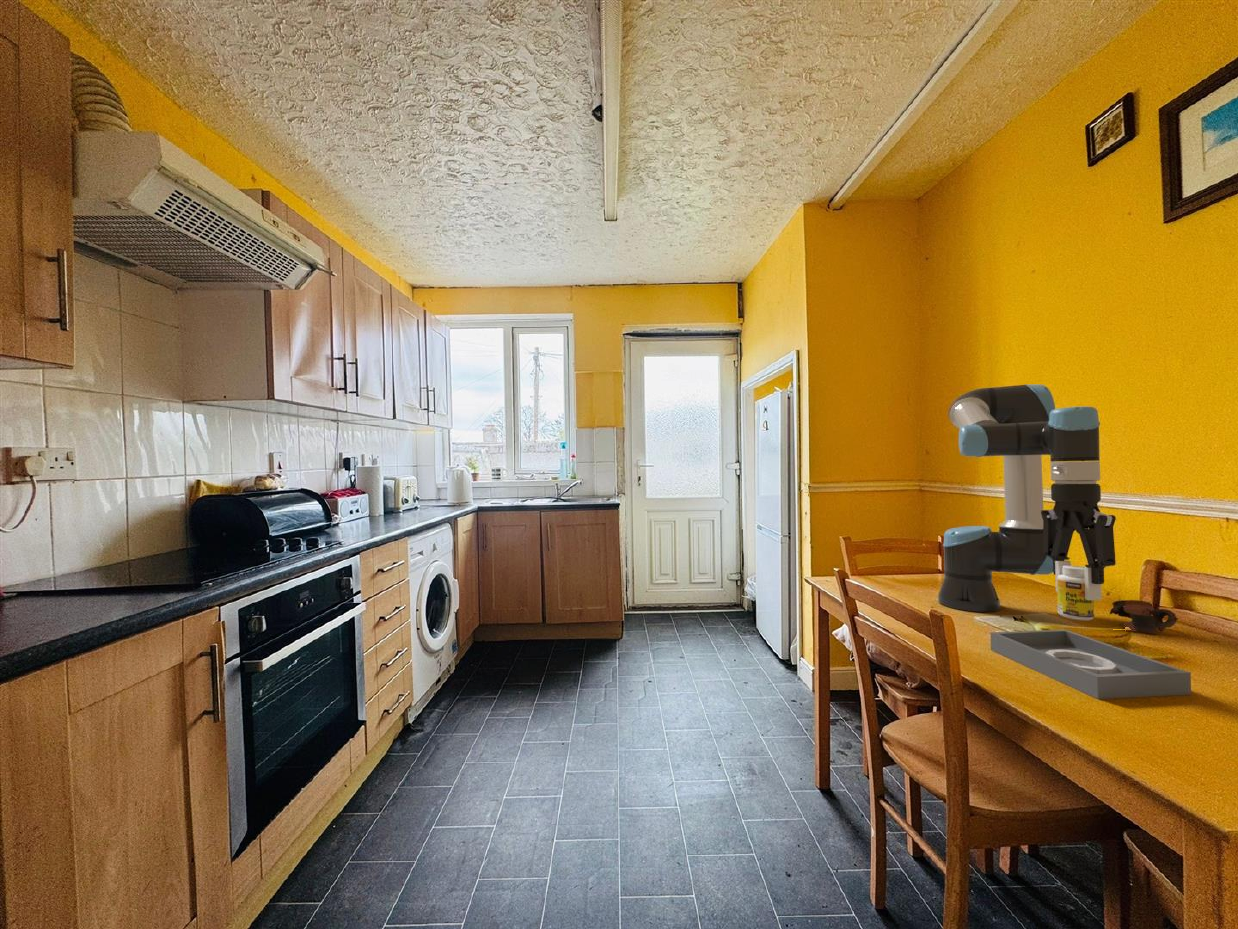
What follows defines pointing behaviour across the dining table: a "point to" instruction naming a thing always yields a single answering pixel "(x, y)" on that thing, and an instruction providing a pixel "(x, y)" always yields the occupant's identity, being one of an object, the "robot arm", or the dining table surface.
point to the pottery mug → (1143, 616)
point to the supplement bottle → (1073, 594)
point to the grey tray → (1091, 664)
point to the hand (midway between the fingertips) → (1078, 595)
